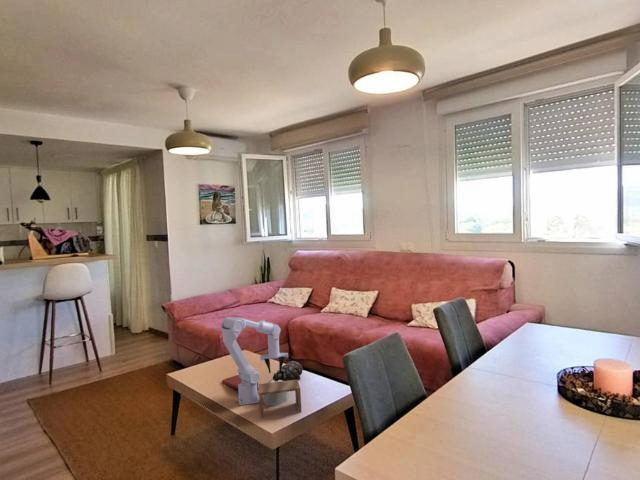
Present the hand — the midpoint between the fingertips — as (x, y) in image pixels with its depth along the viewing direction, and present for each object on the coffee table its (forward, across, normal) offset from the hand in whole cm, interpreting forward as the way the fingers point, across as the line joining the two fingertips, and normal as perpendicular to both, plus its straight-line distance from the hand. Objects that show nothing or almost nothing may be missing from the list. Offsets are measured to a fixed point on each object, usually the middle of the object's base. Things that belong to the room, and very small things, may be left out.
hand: (275, 371), depth 206 cm
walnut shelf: (+9, 0, +24) cm, 25 cm away
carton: (+10, +18, -11) cm, 24 cm away
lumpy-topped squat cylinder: (+10, 0, +12) cm, 15 cm away
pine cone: (+10, -8, -9) cm, 16 cm away
